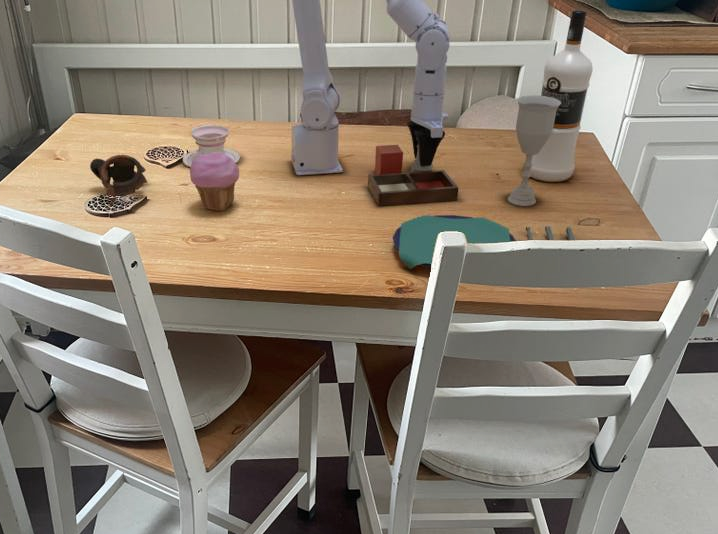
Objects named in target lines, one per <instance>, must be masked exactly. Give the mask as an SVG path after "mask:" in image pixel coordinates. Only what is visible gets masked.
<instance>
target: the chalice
mask: <svg viewBox="0 0 718 534" xmlns="http://www.w3.org/2000/svg"><path fill="white" fill-rule="evenodd" d="M516 101H517V104H518V112H517V118H516V124H515V131H516V137H517V140H518V144H519V147H520V151H521V153H522V154H525V157H526V158H525V161H524V163H523V164H522V165H523V172H522V173H521V174H520V176H521V178H522V181H521V183H520V184H519V185H517V186H516V187H514V188H513V190H512V191H511V192H510V195H509V196H508V198H507V201H508V202H509V203H511V204H512V205H516V206H521V207H522V206H523V207H529V206H533V205H535V204H536V202H537V201H536V196H535V193H534V192H535V191H534V189H533V188H532V187H531V186H530V185H529V184H528V183H529V179H530V177H531V174H530V168H531V167H532V166H533V165H532V157H533V155H535V154H538V153H539V151H540V150H541V149H542V147H543V146H544V145H545V143H546V142H547V140H548V138H549V137H550V135H551V133H552V131H553V126H554V121H555V116H556V110H557V108H558V107H559V105H560V104H561V101H559V100H558V99H555V98H552V97H547V96H541V95H535V94H534V95H524V96H519V97H518V98H516Z"/></svg>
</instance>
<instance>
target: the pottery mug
mask: <svg viewBox="0 0 718 534" xmlns="http://www.w3.org/2000/svg"><path fill="white" fill-rule="evenodd" d="M135 167H136V171H135ZM89 168H90V170H91V172H92V174H93V175H94V176H95V177H96V178H98V179H99V180H100V181H101V184H102V186H103V187H105V189H106V192H105V196H106V195H111V196H123V197H127V196H129V195H133V194H134V193H136V191H138V190H140V188H141V187H142V186H144V184H147V183H148V180H147V178H146V176H145V175H144V173H145V172H146V168H145V167H144V166H143V165H141V162H140V161H138V159H136V158H135V157H133V156H130V155H127V154H116V155H112V156H110V157H109V158H107V159H105V160H104V159H102V158H94V159H93V160H92V161H91V162H90V165H89ZM111 180H112V184H111ZM106 199H107V200H108V201H111V202H113V203H114V202H115V200H116V198H109V197H106Z"/></svg>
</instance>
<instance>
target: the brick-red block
mask: <svg viewBox="0 0 718 534" xmlns="http://www.w3.org/2000/svg"><path fill="white" fill-rule="evenodd" d="M374 158H375V159H374V160H375V161H374V175H378V174H392V173H403V162H404V151H403V150H402V149H401V146H399V145H398V144H387V145H386V144H385V145H376V146H375V157H374Z"/></svg>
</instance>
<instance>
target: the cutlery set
mask: <svg viewBox="0 0 718 534" xmlns="http://www.w3.org/2000/svg"><path fill="white" fill-rule="evenodd" d="M572 230H573V229H572V227H566V229H565V233H566V236H567V239H568V241H569V240H574V241H575V237H574V233H573V231H572ZM444 231H458V232H462V233H464V234H465V236H466V239H467V242H468V243H473V244H474V243H498V242H510V241H516V242H517V240H516V238H515V237H514V235H513V234H511V233H510V229H509V228H508V227H506V226H504V225H502V224H500V223H498V222H496V221H493V220H490V219H488V218H486V217H473V216H463V215H456V214H455V215H454V214H444V215H443V214H441V215H438V214H437V215H428V214H426V215H424V214H423V215H421V216H417V217H414V218H412V219H409V220H405V221H403V222H402V223H400V226H399V227H398V228H397V229H396V230H395V232H394V234H393V236H392V242H393V245H394V249H395V250H396V251H397V252H398V256H399V259H400V260H401V262H402V264H403V265H404V266H405V267H407V268H408V269H409V270H411V269H413V268H414V267H416V266H419V265H420V266H422V267H426V268H429V269H432V268H431V263H432V257H433V252H434V247H435V242H436V238H437V235H438V233H440V232H444ZM525 231H526V232H527V234H528V240H534V238H533V236H532V233H531V226H526V227H525ZM544 231H545V233H546V236H547V238H548V239H547V240H548V241H549V240H554V237H553V232H552V227H551V226H550V225H549V226H548V225H547V226H546V225H545V227H544Z"/></svg>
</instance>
